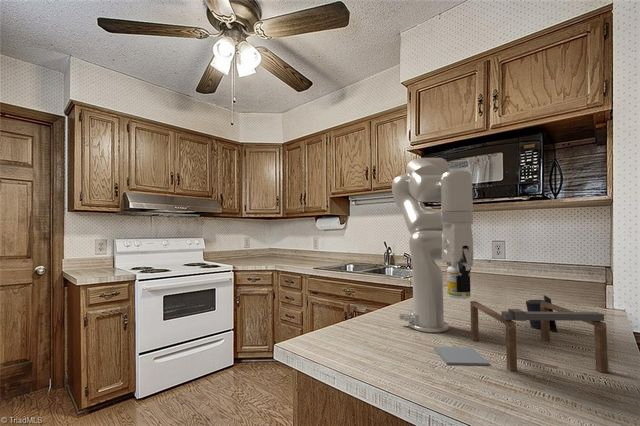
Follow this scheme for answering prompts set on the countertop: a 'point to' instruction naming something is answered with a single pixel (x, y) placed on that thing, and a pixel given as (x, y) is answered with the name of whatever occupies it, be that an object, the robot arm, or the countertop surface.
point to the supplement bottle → (454, 283)
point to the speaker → (535, 307)
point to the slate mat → (460, 356)
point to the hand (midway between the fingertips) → (458, 288)
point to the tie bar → (551, 315)
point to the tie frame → (511, 348)
